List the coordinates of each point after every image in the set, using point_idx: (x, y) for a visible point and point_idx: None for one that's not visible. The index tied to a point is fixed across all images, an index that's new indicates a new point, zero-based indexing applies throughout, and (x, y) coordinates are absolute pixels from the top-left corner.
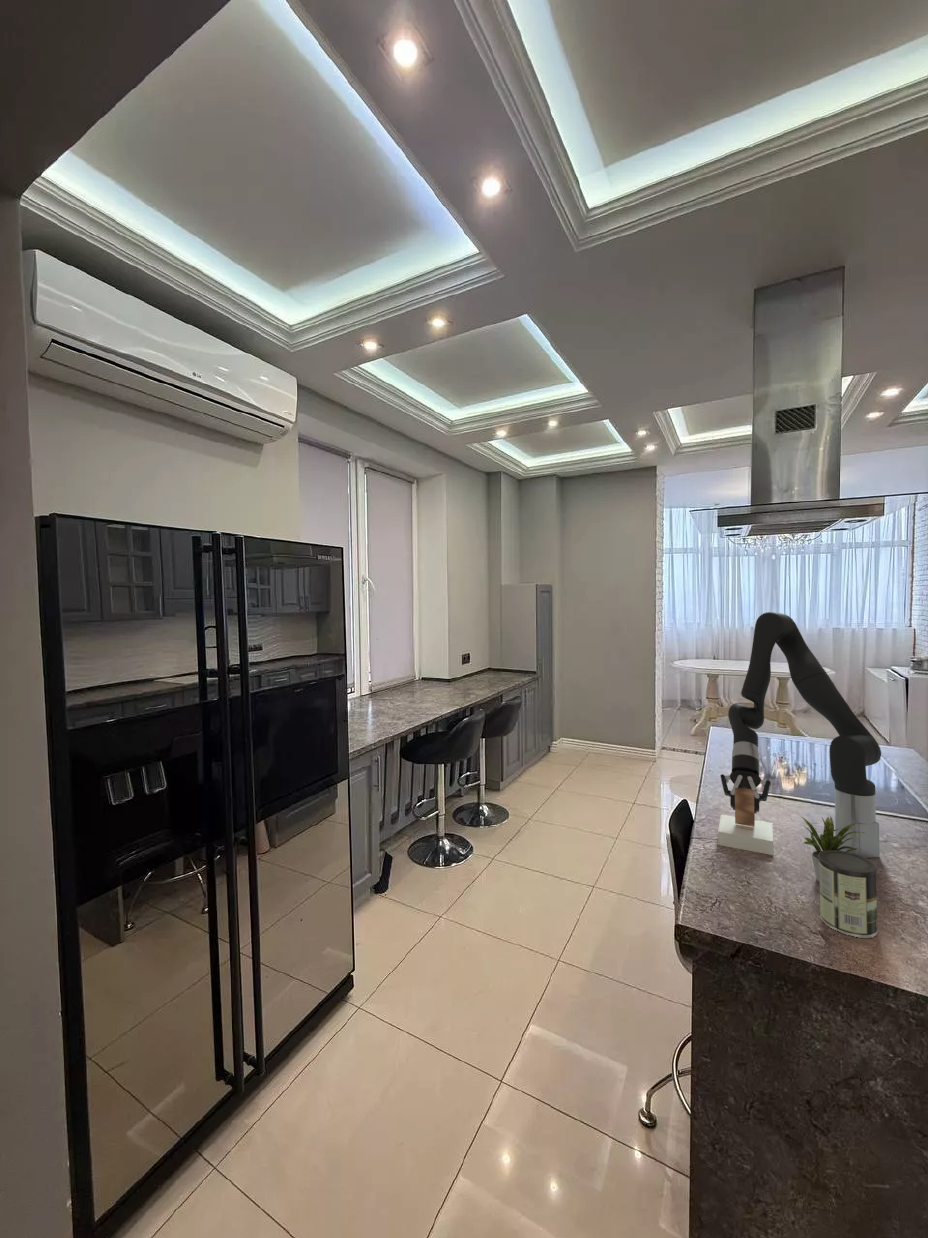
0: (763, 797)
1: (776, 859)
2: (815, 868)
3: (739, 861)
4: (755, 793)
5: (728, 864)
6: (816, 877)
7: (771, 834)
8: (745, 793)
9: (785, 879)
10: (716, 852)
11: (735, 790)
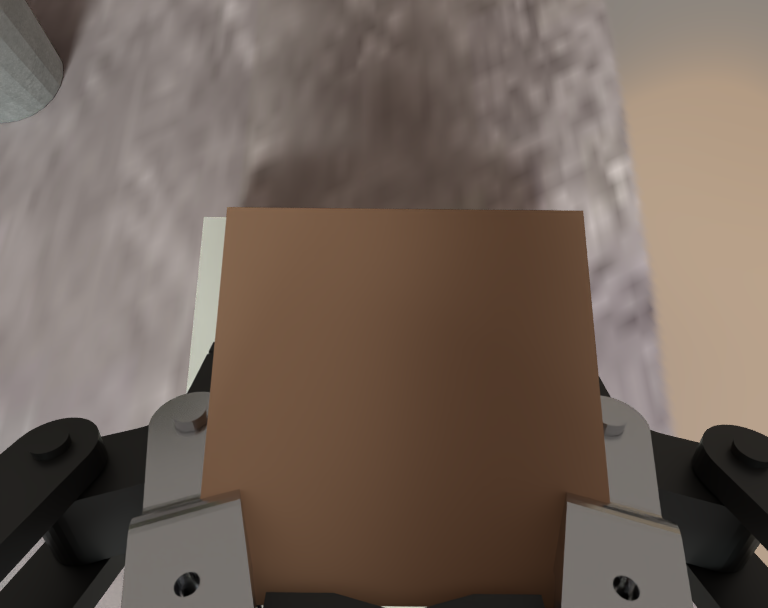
0: (81, 421)
1: (223, 209)
2: (27, 7)
3: (411, 101)
4: (196, 471)
5: (460, 46)
6: (57, 61)
7: (201, 341)
8: (383, 216)
9: (207, 14)
10: (534, 153)
11: (584, 318)
